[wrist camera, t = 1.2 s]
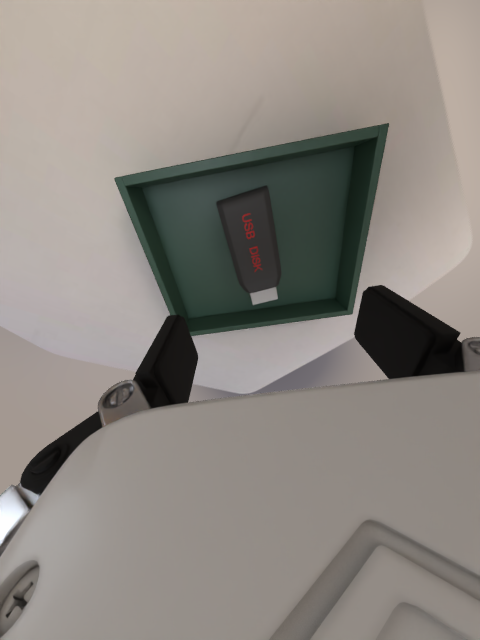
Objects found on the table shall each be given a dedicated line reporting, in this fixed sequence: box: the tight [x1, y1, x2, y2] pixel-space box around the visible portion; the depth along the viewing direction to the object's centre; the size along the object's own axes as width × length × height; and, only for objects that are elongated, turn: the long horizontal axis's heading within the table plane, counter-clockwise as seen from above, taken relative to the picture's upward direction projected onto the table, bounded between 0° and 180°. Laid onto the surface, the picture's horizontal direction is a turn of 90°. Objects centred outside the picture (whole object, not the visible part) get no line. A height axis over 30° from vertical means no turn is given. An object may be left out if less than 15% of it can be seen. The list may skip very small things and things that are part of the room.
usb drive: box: [216, 186, 282, 305], centre depth 22 cm, size 5×12×3 cm, turn 15°
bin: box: [114, 123, 389, 336], centre depth 22 cm, size 22×17×4 cm
